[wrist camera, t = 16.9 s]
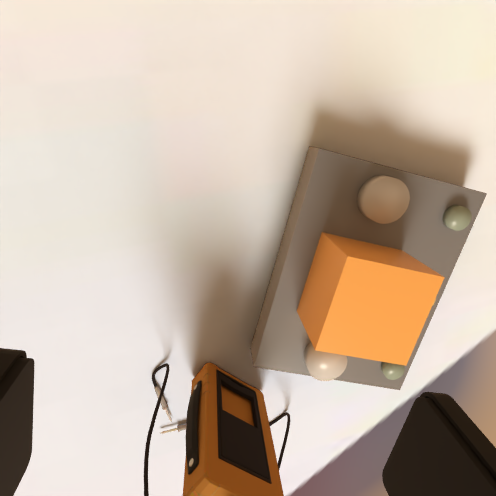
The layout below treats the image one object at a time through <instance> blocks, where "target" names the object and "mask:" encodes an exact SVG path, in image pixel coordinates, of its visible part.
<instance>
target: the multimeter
mask: <svg viewBox="0 0 496 496" xmlns="http://www.w3.org/2000/svg"><path fill="white" fill-rule="evenodd" d="M163 367H167V370H166V375H165V379H164V382H163V386H162V389H161V391H160V389H159V387H158V386H157V384H156V382H155V374H156V372H157V371H158V370H160V369H161V368H163ZM168 374H169V365H168V364H167V363H166V364H163V365H162V366H160V367H158V368H157V369H156V370H155V371H154V372H153V375H152V381H153V384H154V388H155V392H156V394H157V396H158V402H157V405H156V408H155V411H154V414H153V418H152V421H151V425H150V429H149V432H148V437H147V442H146V449H145V460H144V496H149V495H148V456H149V446H150V440H151V434H152V431H153V427H154V423H155V419H156V416H157V412H158V409H159V406H160V403H161V405H162V409H163V410H164V409H165V410H166V413H167V415H168V417H169V419H170V421H171V422H172V419H171V417H170V414H169V412H168V410H167V408H168V405H167V404H166V402H165V400H164V397H163V392H164V389H165V386H166V382H167V378H168ZM286 415H287V416H288V422H287V428H286V433H285V438H284V442H283V446H282V449H281V453H280V457H279V461H278V465H277V460H276V455H275V450H274V445H273V440H272V435H271V430H270V426H271V425H272V424H274V423H275V422H277V421H278V420H280V419H281V418H282V417H284V416H286ZM289 426H290V415H289V414H288V413H287V412H286V413H284V414H282V415H281V416H279V417H278V418H277V419H275V420H274V421H272V422H271V423H269V421H268V416H267V411H266V406H265V402H264V396H263V394H262V392H261V391H259V390H258V389H256V388H255V387H251V386H250V385H248V384H246V383H244V382H243V381H241V380H239V379H237V378H236V377H234V376H232V375H230V374H229V373H227V372H225V371H223V370H222V369H220V368H218V367H217V366H216V365H214V364H212V363H206V364H205V365H204V367H203V368H202V369H201V370H200V372H199V373H198V374H197V375H196V376H195V378H194V379H193V380H192V390H191V397H190V401H189V405H188V411H187V424H185V425H181V426H179V425H178V426H177V428H175V429H171V430H167V431H163V432H161V433H167V432H171V431H175V430H178V432H180V431H181V430H185V429H186V461H185V474H184V487H183V496H284V495H283V490H282V485H281V480H280V475H279V468H280V464H281V461H282V457H283V453H284V449H285V445H286V441H287V436H288V432H289Z"/></svg>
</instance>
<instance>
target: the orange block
mask: <svg viewBox="0 0 496 496" xmlns="http://www.w3.org/2000/svg"><path fill="white" fill-rule="evenodd" d="M444 278H445V277H443V276H442V275H440V274H439V273H437V272H436V271H434V270H432V269H431V268H429V267H428V266H426V265H425V264H423V263H421V262H420V261H418V260H417V259H415V258H413V257H412V256H410V255H409V254H407V253H406V252H404V251H402V250H398V249H394V248H390V247H385V246H381V245H376V244H372V243H368V242H363V241H359V240H354V239H350V238H345V237H341V236H337V235H332V234H328V233H323V232H322V233H321V236H320V239H319V243H318V246H317V249H316V252H315V255H314V258H313V261H312V265H311V268H310V271H309V274H308V277H307V280H306V283H305V287H304V290H303V293H302V296H301V299H300V302H299V305H298V308H297V313H298V315H299V317H300V319H301V322H302V324H303V326H304V328H305V330H306V332H307V334H308V336H309V339H310V341H311V343H312V345H313V347H314V349H315V350H316V351H322V352H328V353H334V354H340V355H346V356H352V357H358V358H363V359H369V360H375V361H381V362H387V363H393V364H399V365H405V366H406V365H407V363H408V360H409V358H410V356H411V354H412V351H413V349H414V347H415V344H416V342H417V340H418V338H419V335H420V333H421V331H422V328H423V326H424V324H425V321H426V319H427V317H428V315H429V312H430V310H431V308H432V305H433V303H434V301H435V298H436V296H437V294H438V292H439V289H440V287H441V285H442V282H443V280H444Z"/></svg>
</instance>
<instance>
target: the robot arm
mask: <svg viewBox="0 0 496 496" xmlns="http://www.w3.org/2000/svg"><path fill="white" fill-rule="evenodd" d="M33 394H34V360H33V359H31V358H27V356H26V352H25V351H22V350H12V349H3V348H0V496H13V495H14V493H15V491H16V489H17V487H18V485H19V483H20V481H21V479H22V477H23V475H24V473H25V471H26V469H27V466H28V464H29V461H30V457H31V453H32V429H33ZM382 476H383V483H384V486H385V488H386V491H387V493H388V495H389V496H496V448H495V447H494V446H493V444H492V443H491V442H490V441H489V440H488V439H487V438H486V436H485V435H484V434H483V433H482V432H481V431H480V430H479V428H478V427H477V426H476V425H475V424H474V423H473V421H472V420H471V419H470V418H469V417H468V416H467V414H466V413H465V412H464V411H463V410H462V409H461V408H460V406H459V405H458V404H457V403H456V402H455V401H454V399H453V398H451V397H450V396H449V395H447V394H443V393H433V392H425V393H423V394H421V396H420V397H418V398H417V399H416V400H415V402H414V404H413V406H412V408H411V410H410V412H409V415H408V417H407V419H406V422H405V423H404V426H403V428H402V430H401V432H400V434H399V436H398V439H397V441H396V443H395V445H394V447H393V450H392V452H391V454H390V456H389V458H388V461H387V463H386V465H385V467H384V469H383V475H382Z"/></svg>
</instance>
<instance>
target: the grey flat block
mask: <svg viewBox="0 0 496 496" xmlns="http://www.w3.org/2000/svg"><path fill="white" fill-rule="evenodd" d="M486 194H487V193H483V192H479V191H476V190H472V189H468V188H465V187H461V186H457V185H453V184H450V183H446V182H442V181H439V180H435V179H431V178H428V177H424V176H420V175H417V174H413V173H409V172H405V171H402V170H398V169H394V168H391V167H387V166H383V165H380V164H376V163H372V162H368V161H365V160H361V159H357V158H354V157H350V156H346V155H343V154H339V153H335V152H332V151H328V150H324V149H320V148H315V147H310V146H309V149H308V152H307V156H306V159H305V163H304V166H303V170H302V173H301V176H300V180H299V183H298V187H297V190H296V194H295V197H294V200H293V204H292V207H291V211H290V214H289V218H288V221H287V224H286V228H285V231H284V235H283V238H282V242H281V245H280V248H279V252H278V255H277V259H276V262H275V266H274V269H273V272H272V276H271V279H270V283H269V286H268V290H267V293H266V296H265V300H264V303H263V307H262V310H261V314H260V317H259V320H258V324H257V327H256V331H255V334H254V337H253V341H252V344H251V348H250V349H251V355H252V360H253V366H254V367H258V368H264V369H271V370H277V371H283V372H289V373H296V374H302V375H308V376H312V377H314V378H315V379H317V380H320V381H330V380H333V379H334V380H340V381H346V382H353V383H359V384H365V385H371V386H378V387H384V388H390V389H397V390H400V388H401V386H402V384H403V382H404V379H405V377H406V375H407V373H408V370H409V368H410V366H411V364H412V361H413V359H414V357H415V355H416V352H417V350H418V348H419V346H420V343H421V341H422V339H423V337H424V334H425V332H426V330H427V327H428V325H429V323H430V321H431V318H432V316H433V314H434V312H435V309H436V307H437V305H438V303H439V300H440V298H441V296H442V294H443V291H444V289H445V287H446V285H447V282H448V280H449V278H450V276H451V273H452V271H453V269H454V267H455V264H456V262H457V260H458V257H459V255H460V253H461V251H462V248H463V246H464V244H465V242H466V239H467V237H468V235H469V233H470V230H471V228H472V226H473V224H474V221H475V219H476V217H477V215H478V212H479V210H480V208H481V206H482V203H483V201H484V199H485V197H486ZM322 232H323V233H328V234H332V235H337V236H341V237H345V238H350V239H354V240H359V241H363V242H368V243H372V244H376V245H381V246H385V247H390V248H394V249H398V250H402V251H404V252H406V253H407V254H409V255H410V256H412V257H413V258H415V259H417V260H418V261H420V262H421V263H423V264H425V265H426V266H428V267H429V268H431V269H432V270H434V271H436V272H437V273H439V274H440V275H442V276H443V277H445V278H444V280H443V282H442V285H441V287H440V289H439V292H438V294H437V296H436V298H435V301H434V303H433V305H432V308H431V310H430V312H429V315H428V317H427V319H426V321H425V324H424V326H423V328H422V331H421V333H420V335H419V338H418V340H417V342H416V344H415V347H414V349H413V351H412V354H411V356H410V358H409V360H408V363H407V365H406V366H405V365H399V364H393V363H387V362H381V361H375V360H369V359H363V358H358V357H352V356H346V355H340V354H334V353H328V352H322V351H316V350H315V349H314V347H313V345H312V343H311V341H310V339H309V336H308V334H307V332H306V330H305V328H304V326H303V324H302V322H301V319H300V317H299V315H298V313H297V308H298V305H299V302H300V299H301V296H302V293H303V290H304V287H305V283H306V280H307V277H308V274H309V271H310V268H311V265H312V261H313V258H314V255H315V252H316V249H317V246H318V243H319V239H320V236H321V233H322Z"/></svg>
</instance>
